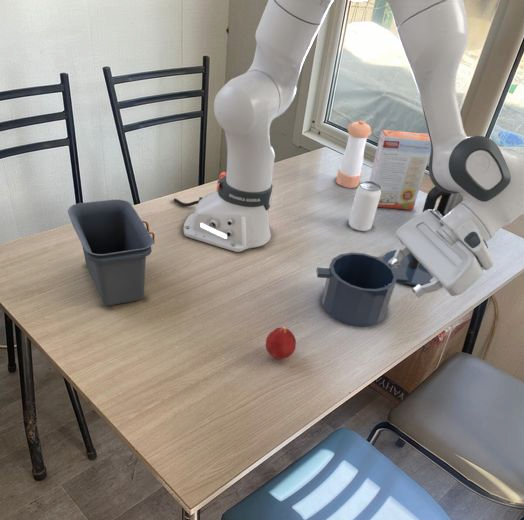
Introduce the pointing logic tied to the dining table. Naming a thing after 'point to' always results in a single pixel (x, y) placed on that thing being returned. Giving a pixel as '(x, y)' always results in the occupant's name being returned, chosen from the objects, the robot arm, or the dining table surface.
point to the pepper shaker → (353, 155)
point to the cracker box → (400, 167)
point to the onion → (280, 343)
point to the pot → (358, 288)
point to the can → (365, 206)
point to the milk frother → (442, 201)
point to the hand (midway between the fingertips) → (402, 279)
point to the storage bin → (113, 248)
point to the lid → (411, 269)
